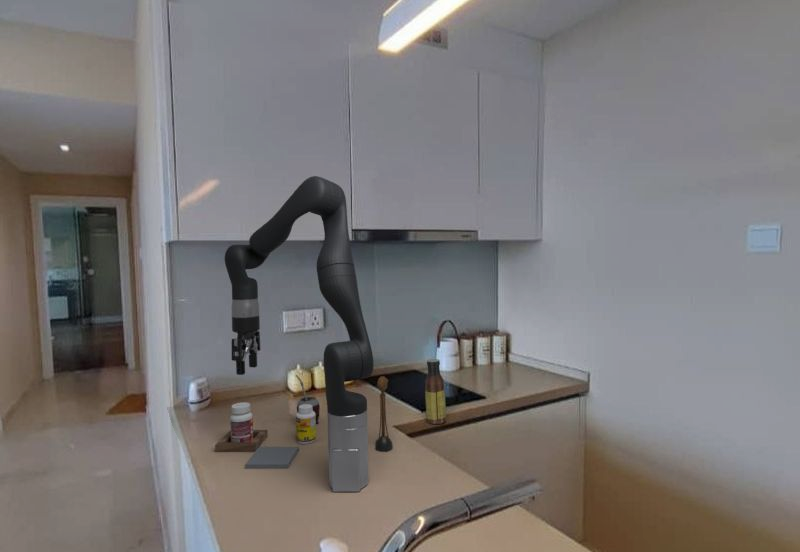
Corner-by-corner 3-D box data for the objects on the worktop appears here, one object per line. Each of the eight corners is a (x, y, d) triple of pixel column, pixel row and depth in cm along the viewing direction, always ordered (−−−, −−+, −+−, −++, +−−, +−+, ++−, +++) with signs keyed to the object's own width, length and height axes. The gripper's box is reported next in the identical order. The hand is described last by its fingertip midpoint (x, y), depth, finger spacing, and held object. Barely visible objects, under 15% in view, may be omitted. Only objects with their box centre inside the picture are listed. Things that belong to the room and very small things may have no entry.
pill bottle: (256, 445, 133) (255, 405, 132) (234, 450, 129) (232, 409, 129) (250, 438, 138) (249, 400, 137) (228, 443, 134) (227, 404, 134)
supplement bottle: (292, 442, 134) (291, 407, 133) (305, 436, 139) (304, 402, 138) (307, 446, 131) (306, 410, 131) (320, 439, 136) (319, 404, 136)
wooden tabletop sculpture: (380, 442, 133) (379, 373, 132) (395, 444, 131) (394, 374, 130) (372, 450, 127) (371, 378, 126) (388, 452, 126) (387, 379, 125)
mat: (288, 468, 117) (288, 464, 117) (245, 468, 118) (244, 464, 118) (299, 450, 128) (299, 446, 128) (259, 450, 129) (259, 446, 129)
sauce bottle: (444, 418, 152) (443, 357, 151) (447, 425, 146) (446, 361, 145) (424, 418, 152) (423, 358, 151) (426, 425, 145) (425, 362, 145)
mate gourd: (318, 427, 145) (317, 379, 145) (292, 428, 145) (291, 380, 144) (321, 419, 153) (320, 374, 152) (296, 420, 152) (295, 374, 152)
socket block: (254, 451, 128) (254, 444, 128) (215, 452, 128) (215, 444, 128) (267, 436, 139) (267, 429, 139) (231, 436, 139) (230, 430, 139)
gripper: (248, 318, 126) (249, 377, 127) (267, 311, 140) (269, 364, 141) (221, 318, 127) (223, 377, 127) (243, 311, 141) (245, 364, 141)
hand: (247, 370), depth 134 cm, fingers open, 8 cm apart
